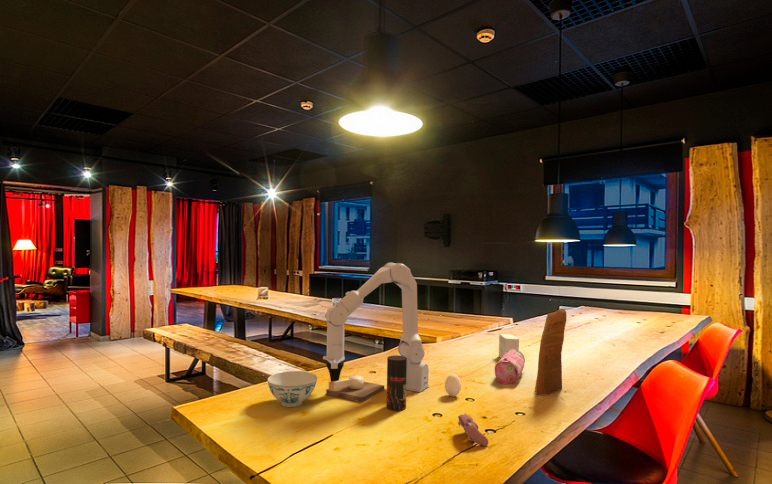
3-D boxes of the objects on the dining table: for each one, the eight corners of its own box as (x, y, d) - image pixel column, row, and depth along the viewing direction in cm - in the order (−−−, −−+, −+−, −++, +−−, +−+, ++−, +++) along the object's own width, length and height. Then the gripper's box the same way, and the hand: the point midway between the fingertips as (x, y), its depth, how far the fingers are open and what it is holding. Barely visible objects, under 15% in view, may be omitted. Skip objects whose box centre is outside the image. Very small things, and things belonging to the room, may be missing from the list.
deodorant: (404, 411, 128) (405, 360, 128) (384, 409, 129) (385, 359, 129) (407, 404, 133) (408, 356, 134) (388, 403, 135) (389, 354, 135)
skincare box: (519, 363, 186) (519, 338, 186) (504, 362, 186) (504, 338, 187) (512, 357, 197) (512, 334, 197) (498, 356, 197) (498, 333, 197)
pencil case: (517, 386, 154) (518, 361, 154) (492, 382, 158) (492, 358, 158) (526, 371, 173) (526, 349, 173) (503, 368, 177) (503, 346, 177)
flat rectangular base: (384, 390, 147) (384, 385, 147) (362, 402, 135) (362, 397, 135) (350, 383, 154) (350, 378, 154) (326, 394, 142) (326, 389, 142)
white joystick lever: (358, 383, 148) (358, 374, 148) (366, 387, 144) (366, 378, 144) (325, 390, 140) (326, 380, 140) (333, 394, 136) (333, 384, 136)
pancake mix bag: (572, 387, 154) (573, 308, 154) (546, 399, 141) (547, 313, 141) (554, 382, 159) (555, 306, 159) (527, 393, 146) (528, 311, 146)
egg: (443, 397, 141) (443, 374, 141) (446, 392, 146) (446, 370, 146) (459, 399, 139) (459, 376, 139) (462, 394, 144) (462, 372, 144)
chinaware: (325, 398, 138) (325, 374, 138) (301, 415, 124) (301, 388, 124) (284, 392, 143) (284, 369, 143) (256, 407, 128) (257, 381, 129)
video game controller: (463, 436, 115) (452, 413, 115) (478, 428, 116) (467, 405, 115) (474, 454, 105) (462, 428, 105) (490, 445, 106) (478, 419, 106)
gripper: (324, 338, 149) (324, 378, 148) (321, 348, 134) (320, 392, 134) (345, 338, 149) (344, 377, 149) (344, 348, 135) (343, 392, 134)
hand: (334, 384), depth 141 cm, fingers closed, pressing on white joystick lever
